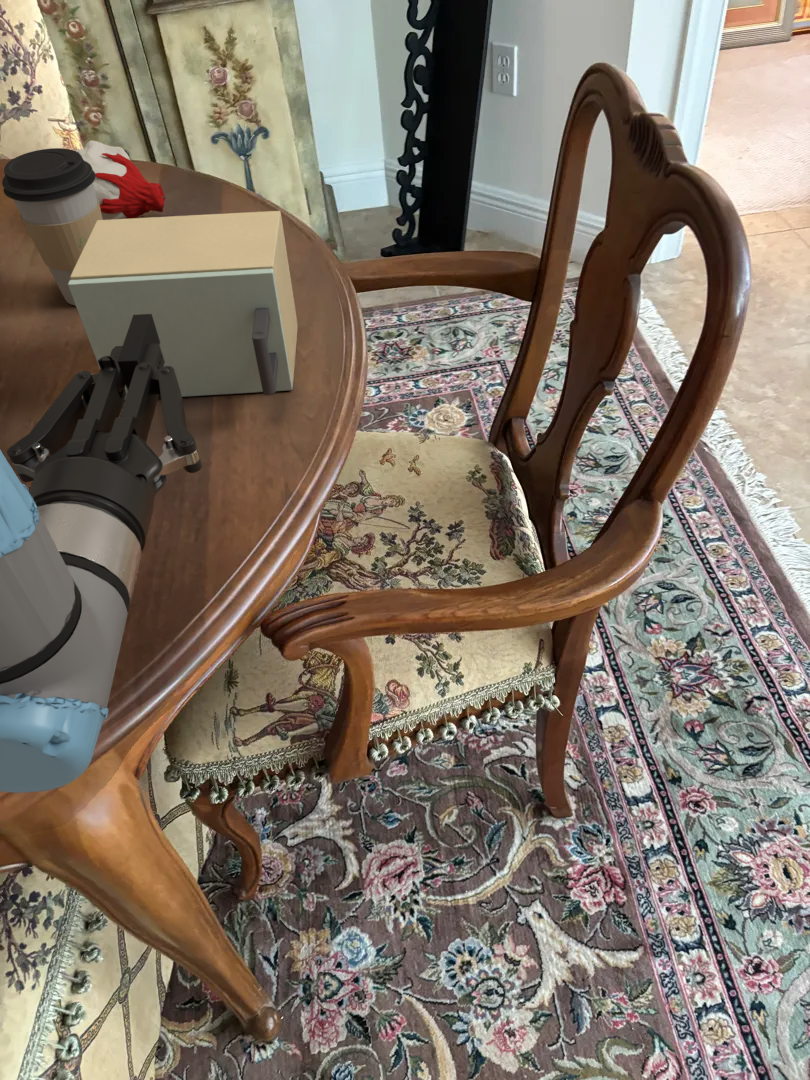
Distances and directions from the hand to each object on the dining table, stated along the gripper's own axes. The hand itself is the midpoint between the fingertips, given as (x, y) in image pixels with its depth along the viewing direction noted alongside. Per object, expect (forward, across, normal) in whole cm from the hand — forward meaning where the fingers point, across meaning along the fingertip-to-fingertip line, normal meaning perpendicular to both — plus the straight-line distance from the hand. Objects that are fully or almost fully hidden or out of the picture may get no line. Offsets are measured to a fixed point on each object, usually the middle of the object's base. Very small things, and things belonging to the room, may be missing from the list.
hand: (146, 328), depth 65 cm
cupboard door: (+5, +1, -12) cm, 13 cm away
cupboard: (+13, +1, -12) cm, 18 cm away
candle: (+47, -15, -13) cm, 51 cm away
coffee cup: (+28, -15, -13) cm, 34 cm away
